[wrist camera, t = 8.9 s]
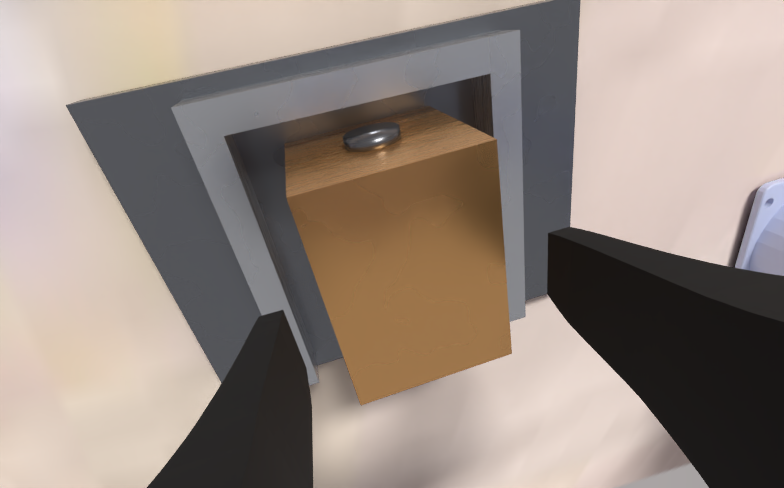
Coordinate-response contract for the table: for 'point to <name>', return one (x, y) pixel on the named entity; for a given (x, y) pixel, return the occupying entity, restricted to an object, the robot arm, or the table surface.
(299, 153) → the block
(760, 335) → the robot arm
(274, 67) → the plate
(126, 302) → the table surface
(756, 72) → the table surface
